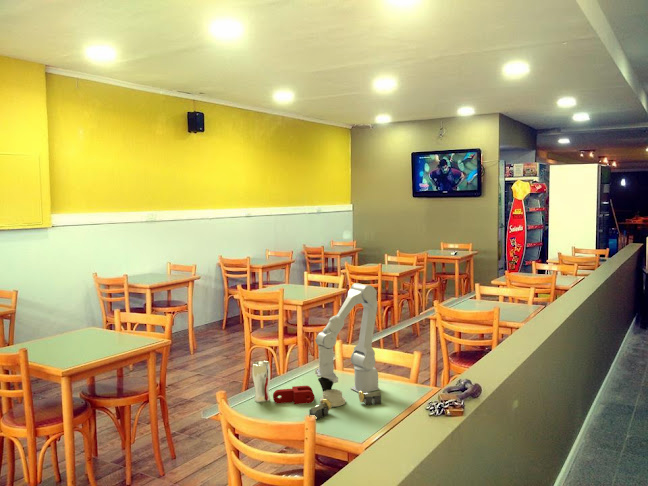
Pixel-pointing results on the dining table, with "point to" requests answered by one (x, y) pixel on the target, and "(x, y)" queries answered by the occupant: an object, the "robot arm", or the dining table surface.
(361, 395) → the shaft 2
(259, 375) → the beer glass
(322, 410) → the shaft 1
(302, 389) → the mechanical linkage
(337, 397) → the mechanical component
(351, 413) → the dining table surface
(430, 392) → the dining table surface
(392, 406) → the dining table surface
